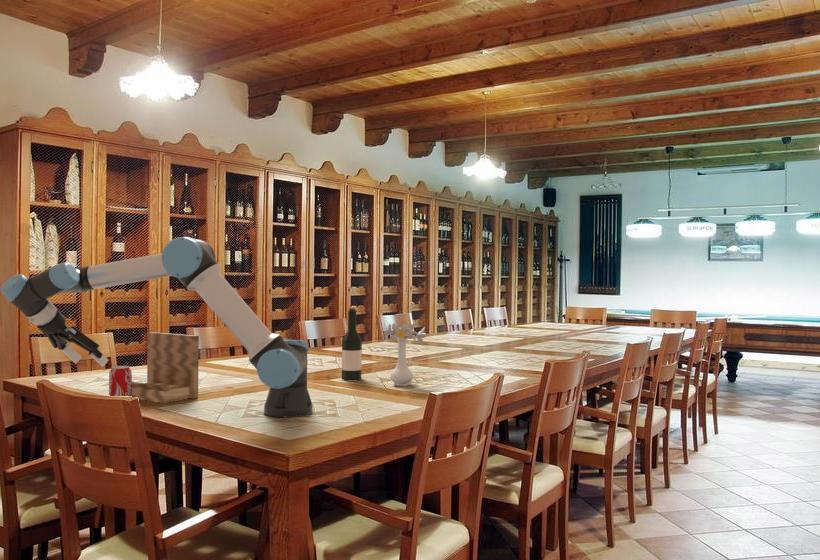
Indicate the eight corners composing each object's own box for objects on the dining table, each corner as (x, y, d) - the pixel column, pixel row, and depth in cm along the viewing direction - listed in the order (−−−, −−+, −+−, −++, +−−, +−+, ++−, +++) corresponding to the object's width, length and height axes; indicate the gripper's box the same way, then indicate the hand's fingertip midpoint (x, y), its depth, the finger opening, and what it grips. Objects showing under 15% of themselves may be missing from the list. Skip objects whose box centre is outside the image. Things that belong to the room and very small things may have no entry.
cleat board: (198, 398, 224) (198, 335, 224) (169, 404, 213) (169, 338, 213) (151, 391, 236) (152, 332, 235) (122, 397, 225) (122, 334, 225)
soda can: (122, 404, 211) (123, 368, 211) (104, 403, 213) (104, 367, 213) (136, 400, 218) (136, 365, 218) (117, 399, 220) (118, 365, 220)
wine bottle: (365, 378, 271) (366, 308, 271) (353, 381, 264) (354, 309, 264) (349, 377, 275) (350, 307, 275) (337, 379, 268) (338, 308, 268)
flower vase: (430, 385, 257) (431, 323, 257) (392, 389, 246) (393, 324, 246) (411, 380, 267) (412, 321, 267) (374, 384, 257) (375, 322, 257)
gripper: (13, 324, 197) (60, 367, 210) (63, 328, 185) (109, 374, 198) (31, 307, 201) (75, 350, 215) (80, 309, 189) (124, 355, 203)
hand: (91, 361), depth 206 cm, fingers open, 13 cm apart
